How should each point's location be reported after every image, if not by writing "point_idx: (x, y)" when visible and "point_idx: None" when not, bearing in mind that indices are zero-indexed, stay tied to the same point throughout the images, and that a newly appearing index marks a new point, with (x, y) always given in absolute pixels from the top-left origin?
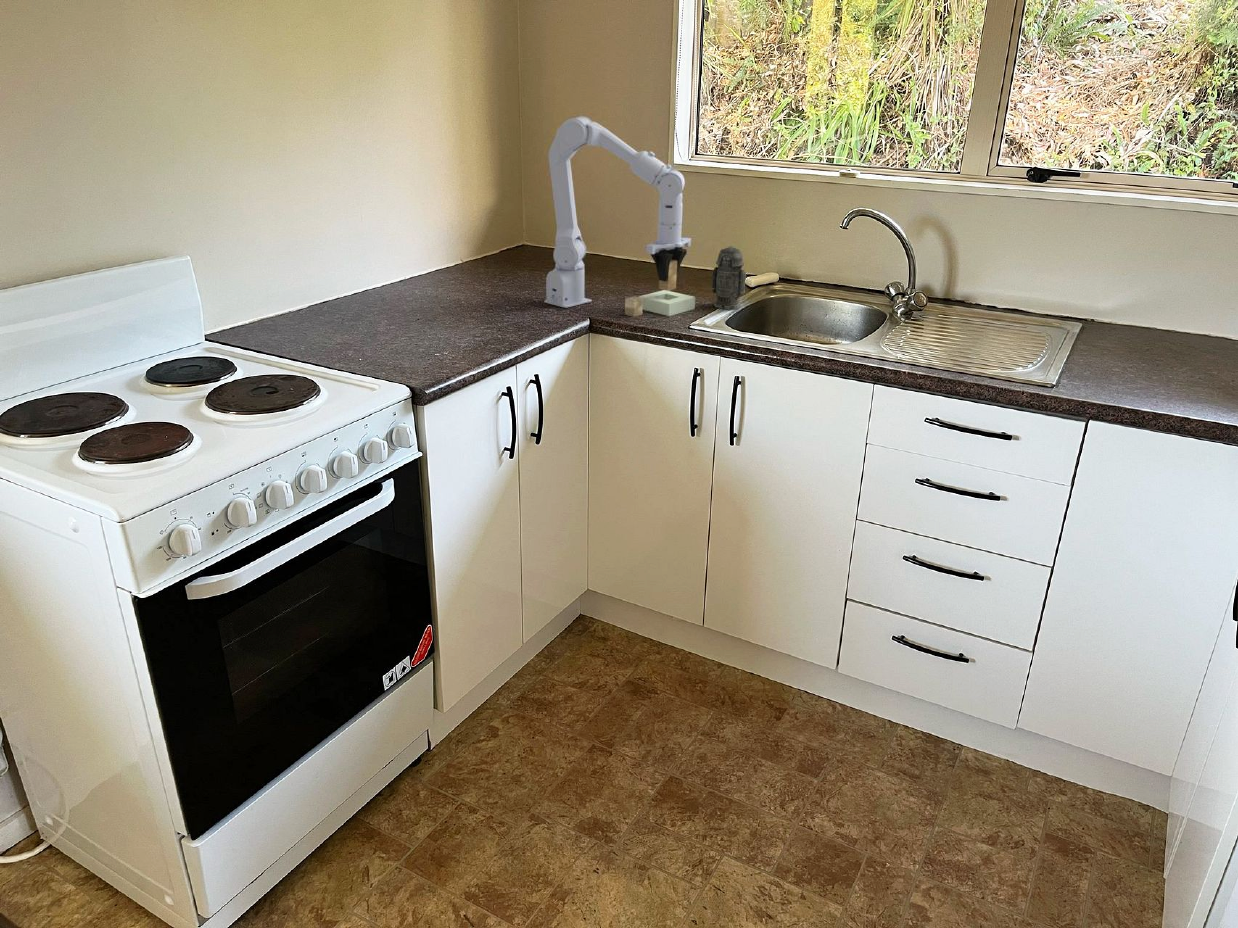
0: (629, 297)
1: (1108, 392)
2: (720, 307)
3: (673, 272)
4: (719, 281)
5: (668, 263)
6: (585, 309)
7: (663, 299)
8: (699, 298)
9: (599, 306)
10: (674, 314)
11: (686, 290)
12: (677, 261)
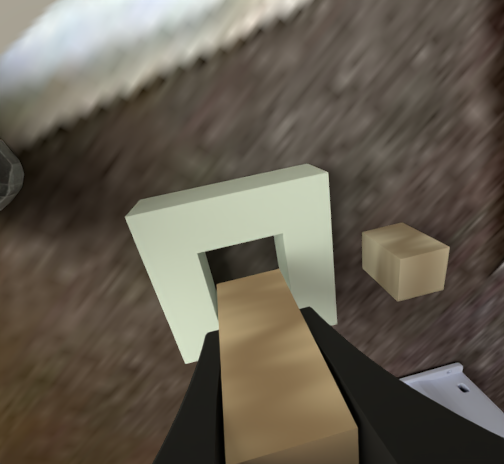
0: (422, 294)
1: None
2: (2, 142)
3: (260, 350)
4: None
5: (384, 405)
6: (430, 340)
7: (292, 249)
8: (26, 317)
9: (384, 351)
10: (272, 171)
11: (22, 410)
12: (218, 458)
